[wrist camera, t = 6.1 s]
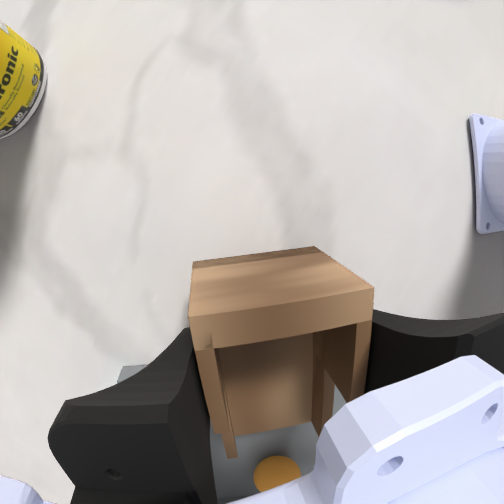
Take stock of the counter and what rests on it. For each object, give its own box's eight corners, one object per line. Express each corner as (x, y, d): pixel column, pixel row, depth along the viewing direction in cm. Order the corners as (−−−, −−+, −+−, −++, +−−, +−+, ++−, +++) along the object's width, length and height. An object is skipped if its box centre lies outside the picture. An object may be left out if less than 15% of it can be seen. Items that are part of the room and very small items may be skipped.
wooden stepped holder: (314, 246, 13) (374, 287, 8) (314, 407, 15) (347, 474, 10) (192, 261, 12) (188, 317, 8) (222, 424, 15) (233, 499, 10)
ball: (316, 483, 15) (285, 490, 17) (300, 445, 17) (270, 455, 18) (285, 501, 13) (253, 505, 15) (266, 459, 15) (237, 466, 16)
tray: (414, 316, 17) (449, 339, 14) (387, 457, 20) (405, 484, 17) (116, 366, 15) (100, 405, 12) (174, 501, 18) (174, 535, 14)
